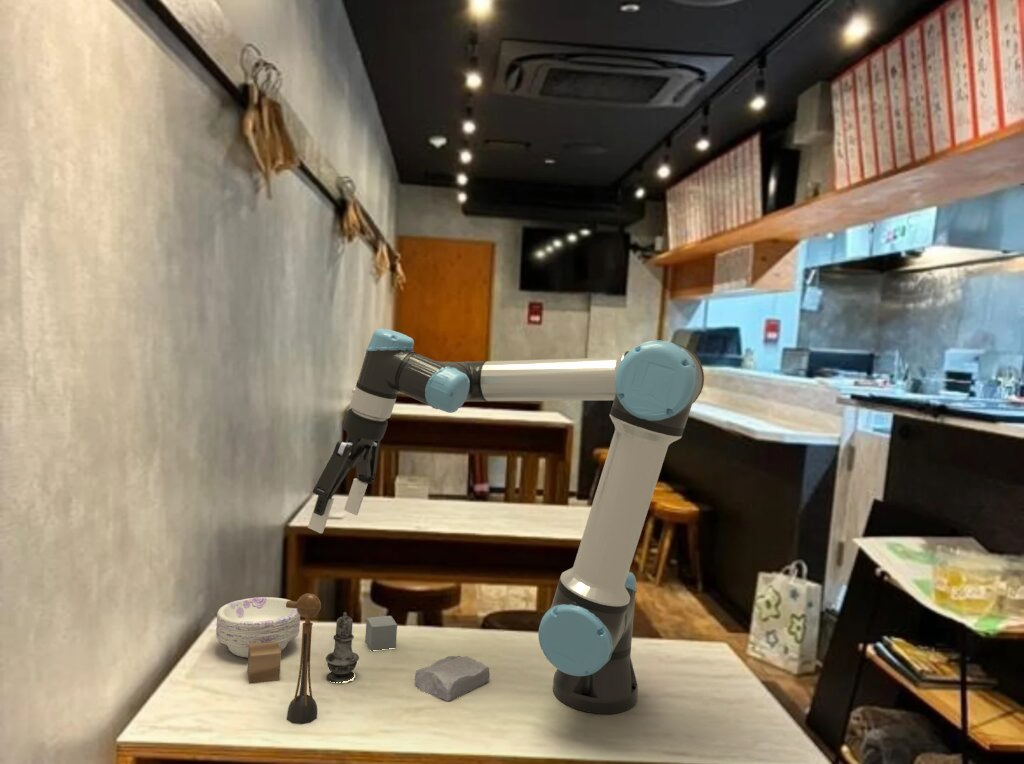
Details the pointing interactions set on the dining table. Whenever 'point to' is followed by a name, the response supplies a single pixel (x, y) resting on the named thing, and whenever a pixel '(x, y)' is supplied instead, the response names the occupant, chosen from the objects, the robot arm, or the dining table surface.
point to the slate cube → (381, 633)
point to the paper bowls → (256, 623)
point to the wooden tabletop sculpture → (304, 662)
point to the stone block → (451, 677)
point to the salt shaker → (342, 652)
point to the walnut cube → (264, 662)
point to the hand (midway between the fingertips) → (333, 521)
